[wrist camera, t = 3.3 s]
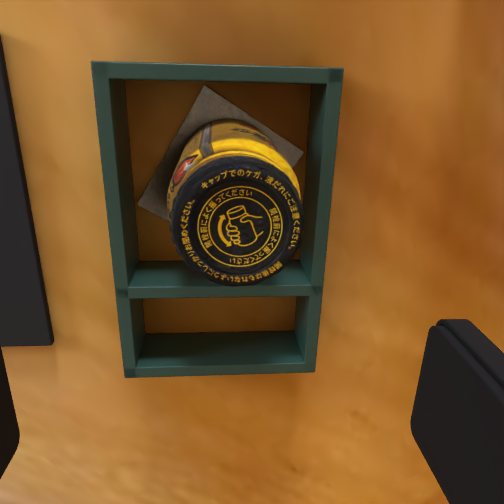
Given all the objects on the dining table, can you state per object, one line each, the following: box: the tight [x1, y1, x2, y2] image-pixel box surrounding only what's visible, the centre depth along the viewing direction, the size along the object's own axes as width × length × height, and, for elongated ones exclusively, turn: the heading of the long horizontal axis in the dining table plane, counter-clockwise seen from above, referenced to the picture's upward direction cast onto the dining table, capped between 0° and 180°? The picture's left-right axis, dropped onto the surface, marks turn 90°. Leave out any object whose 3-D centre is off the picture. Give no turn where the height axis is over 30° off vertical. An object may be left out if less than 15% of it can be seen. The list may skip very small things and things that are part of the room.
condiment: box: [137, 85, 305, 287], centre depth 22 cm, size 7×8×12 cm
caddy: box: [91, 61, 344, 378], centre depth 27 cm, size 19×13×4 cm, turn 179°
